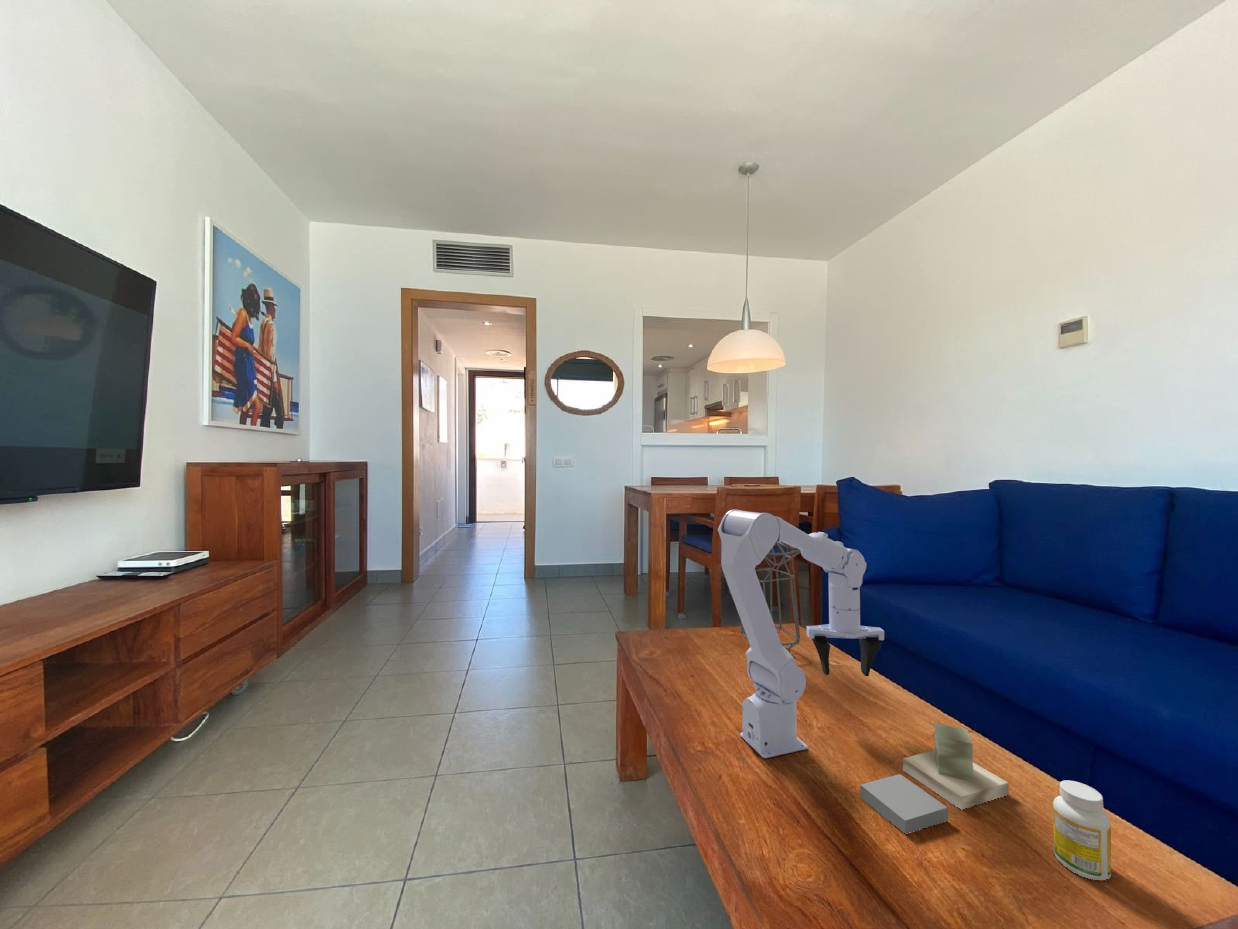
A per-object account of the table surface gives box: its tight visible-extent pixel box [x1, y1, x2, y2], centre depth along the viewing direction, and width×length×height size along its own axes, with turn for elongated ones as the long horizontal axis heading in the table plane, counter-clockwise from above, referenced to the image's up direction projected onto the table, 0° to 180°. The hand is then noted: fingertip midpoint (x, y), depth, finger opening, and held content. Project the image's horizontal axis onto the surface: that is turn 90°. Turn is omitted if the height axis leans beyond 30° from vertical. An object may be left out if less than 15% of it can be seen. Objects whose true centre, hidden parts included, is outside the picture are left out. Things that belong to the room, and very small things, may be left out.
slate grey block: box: [859, 773, 949, 835], centre depth 72 cm, size 8×8×2 cm
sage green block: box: [934, 722, 974, 782], centre depth 78 cm, size 4×4×6 cm
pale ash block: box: [902, 749, 1010, 811], centre depth 78 cm, size 10×10×2 cm
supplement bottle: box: [1052, 779, 1112, 881], centre depth 62 cm, size 5×5×10 cm
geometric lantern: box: [740, 542, 801, 654], centre depth 133 cm, size 16×16×35 cm
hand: (845, 673), depth 97 cm, fingers open, 7 cm apart
